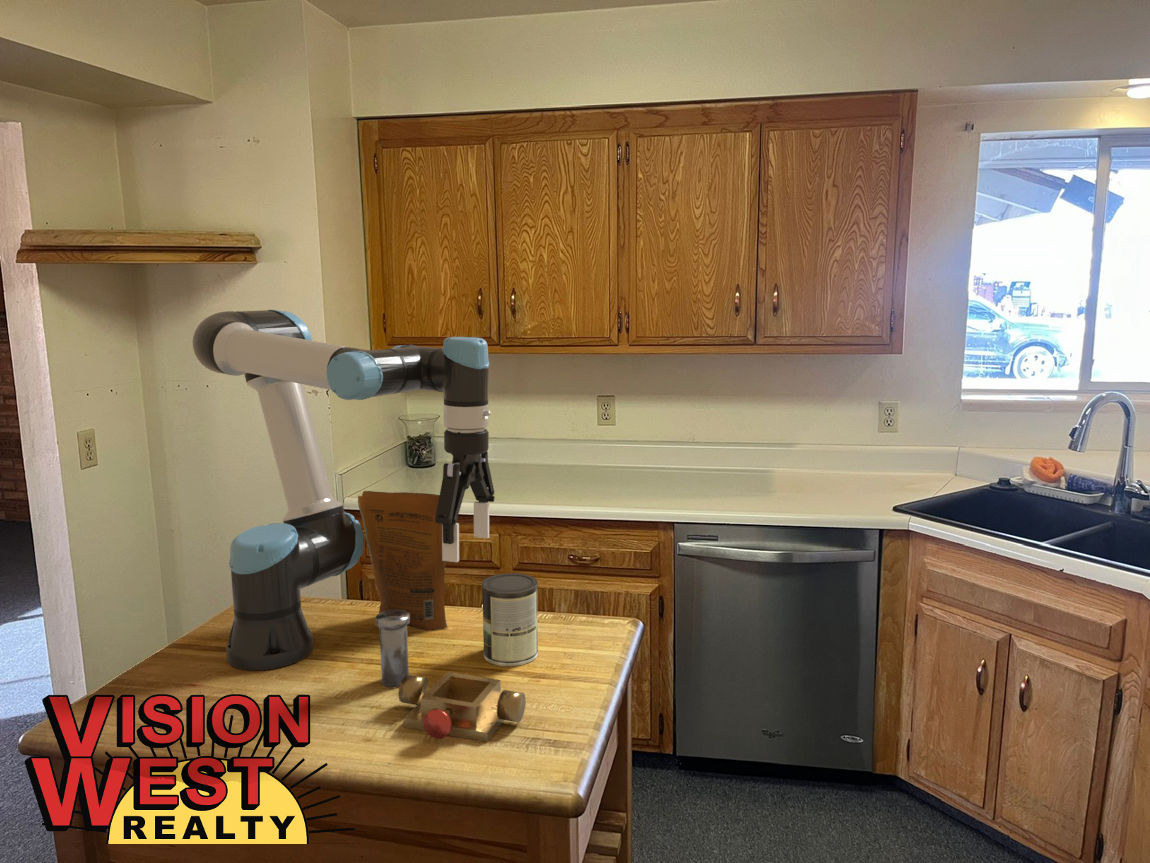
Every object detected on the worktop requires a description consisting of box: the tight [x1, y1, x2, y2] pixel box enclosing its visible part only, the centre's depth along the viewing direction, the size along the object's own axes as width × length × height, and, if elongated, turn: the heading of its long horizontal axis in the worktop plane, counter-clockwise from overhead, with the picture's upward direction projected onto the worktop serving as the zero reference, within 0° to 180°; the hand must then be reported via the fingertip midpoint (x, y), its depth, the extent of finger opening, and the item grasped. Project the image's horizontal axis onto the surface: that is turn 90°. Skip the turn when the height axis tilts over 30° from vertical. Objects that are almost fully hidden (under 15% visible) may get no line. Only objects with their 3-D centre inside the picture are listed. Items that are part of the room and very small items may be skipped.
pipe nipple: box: [375, 610, 410, 689], centre depth 140 cm, size 6×6×12 cm
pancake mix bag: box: [357, 490, 448, 631], centre depth 163 cm, size 7×19×28 cm, turn 67°
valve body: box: [398, 671, 527, 743], centre depth 128 cm, size 20×15×5 cm
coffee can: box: [481, 572, 539, 667], centre depth 150 cm, size 10×10×14 cm
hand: (466, 548), depth 142 cm, fingers open, 13 cm apart
